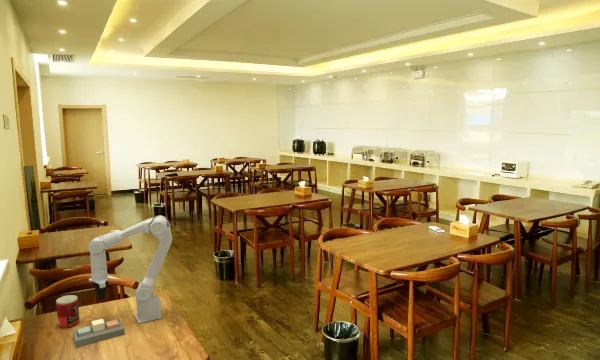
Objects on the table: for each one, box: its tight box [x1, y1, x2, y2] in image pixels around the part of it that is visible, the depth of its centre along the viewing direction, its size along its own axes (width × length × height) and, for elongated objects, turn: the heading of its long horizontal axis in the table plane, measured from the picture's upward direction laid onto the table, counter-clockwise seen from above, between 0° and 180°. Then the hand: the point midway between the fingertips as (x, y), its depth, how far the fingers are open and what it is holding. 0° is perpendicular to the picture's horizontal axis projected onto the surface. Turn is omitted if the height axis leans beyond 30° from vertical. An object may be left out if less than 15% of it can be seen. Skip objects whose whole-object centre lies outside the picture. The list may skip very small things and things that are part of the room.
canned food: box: [55, 294, 81, 329], centre depth 170 cm, size 8×8×11 cm
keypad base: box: [72, 317, 125, 348], centre depth 161 cm, size 17×10×2 cm, turn 123°
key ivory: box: [91, 318, 105, 333], centre depth 161 cm, size 4×4×3 cm
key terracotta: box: [105, 319, 119, 330], centre depth 164 cm, size 4×4×3 cm
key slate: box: [77, 325, 91, 337], centre depth 159 cm, size 4×4×3 cm
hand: (101, 298), depth 170 cm, fingers closed
